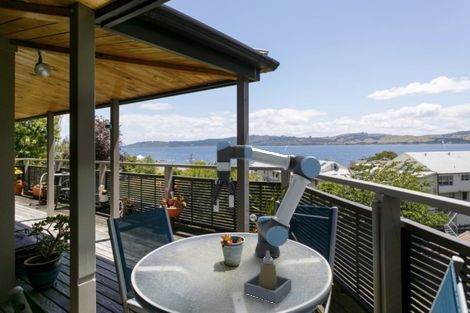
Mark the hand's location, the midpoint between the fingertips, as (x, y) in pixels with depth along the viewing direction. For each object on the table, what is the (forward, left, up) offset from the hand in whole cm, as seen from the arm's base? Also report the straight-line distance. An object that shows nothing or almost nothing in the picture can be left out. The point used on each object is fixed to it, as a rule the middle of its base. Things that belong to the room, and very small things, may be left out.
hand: (224, 209), depth 169 cm
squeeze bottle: (+12, +34, -31) cm, 48 cm away
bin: (+12, +34, -32) cm, 48 cm away
